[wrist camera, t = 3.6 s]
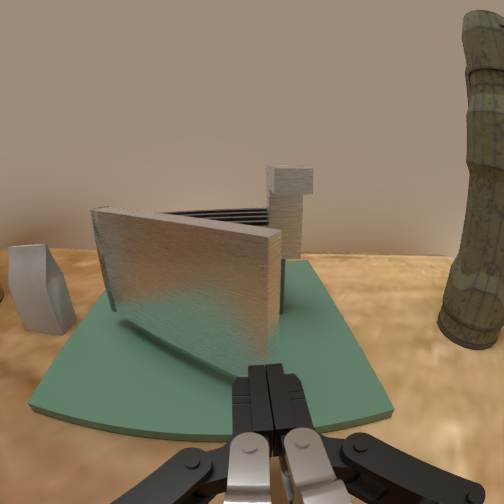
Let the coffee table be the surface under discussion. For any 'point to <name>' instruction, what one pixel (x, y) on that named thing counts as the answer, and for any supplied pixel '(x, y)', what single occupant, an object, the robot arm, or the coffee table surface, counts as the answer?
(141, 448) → the coffee table surface
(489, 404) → the coffee table surface
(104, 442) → the coffee table surface
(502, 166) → the thermos
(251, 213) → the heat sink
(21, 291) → the tea bag
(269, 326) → the silver metal plate
